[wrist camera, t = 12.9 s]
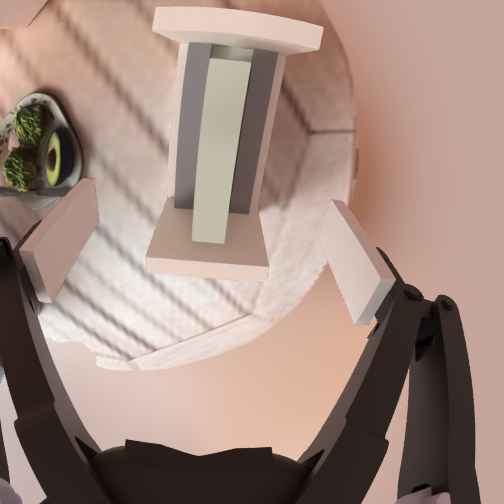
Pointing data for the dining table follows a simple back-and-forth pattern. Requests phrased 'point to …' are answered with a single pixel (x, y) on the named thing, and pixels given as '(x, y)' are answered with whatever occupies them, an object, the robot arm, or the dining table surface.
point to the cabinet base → (238, 226)
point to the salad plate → (39, 152)
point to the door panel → (218, 147)
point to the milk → (19, 12)
